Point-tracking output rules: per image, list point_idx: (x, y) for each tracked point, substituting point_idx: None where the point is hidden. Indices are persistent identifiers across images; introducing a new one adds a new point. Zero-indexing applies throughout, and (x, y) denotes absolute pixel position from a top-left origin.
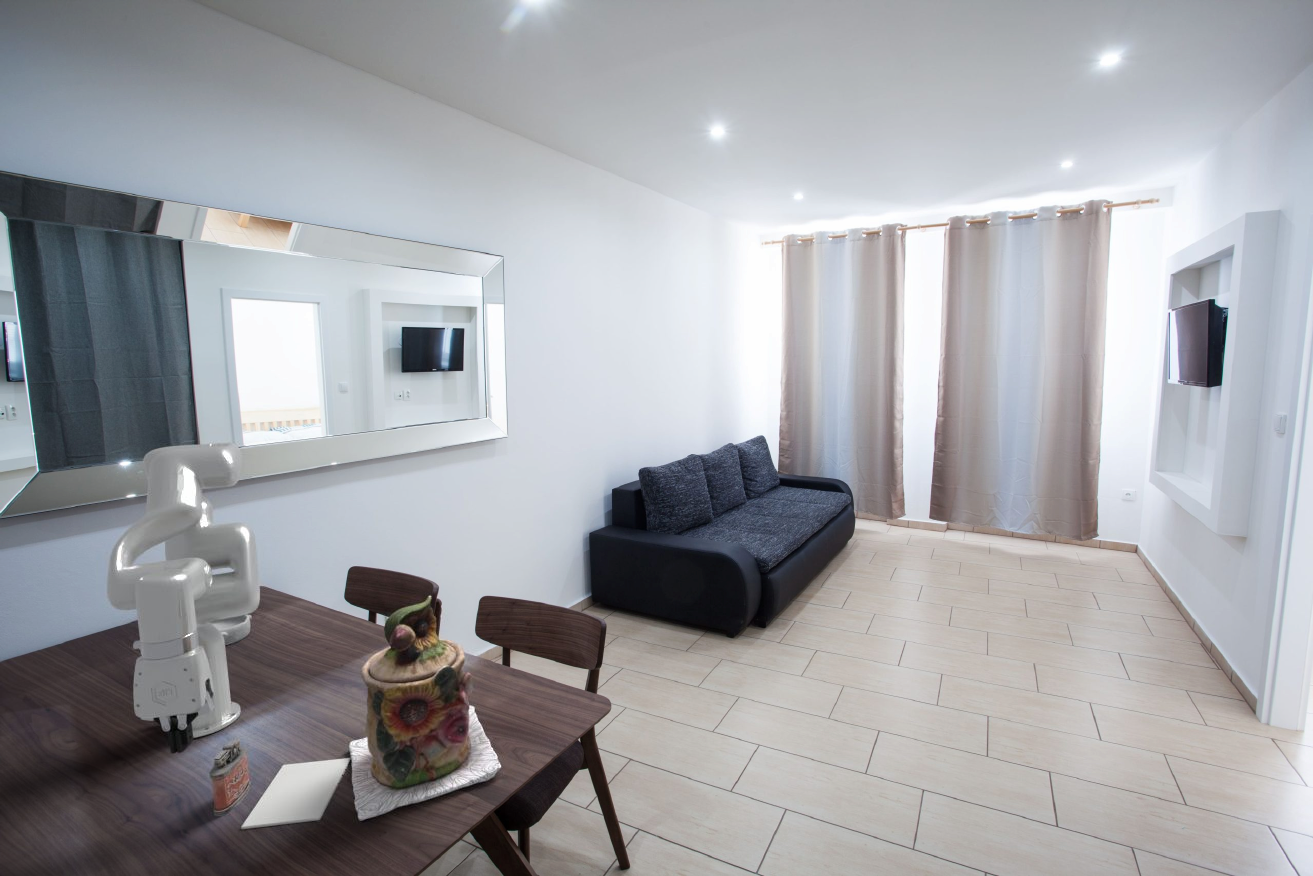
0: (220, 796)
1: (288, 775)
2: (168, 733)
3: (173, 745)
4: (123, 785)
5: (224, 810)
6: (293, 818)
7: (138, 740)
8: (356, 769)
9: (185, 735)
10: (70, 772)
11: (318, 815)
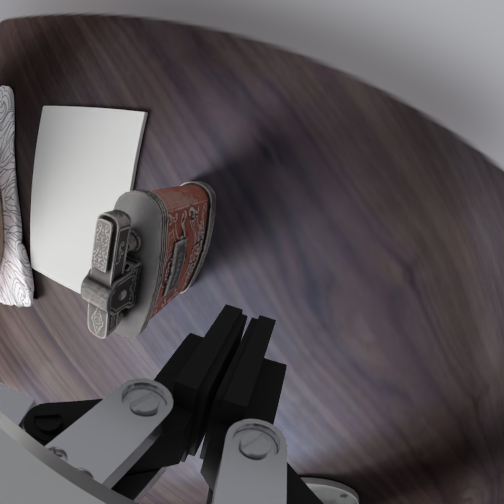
0: (173, 187)
1: None
2: (267, 416)
3: (250, 339)
4: (426, 400)
5: (186, 183)
6: (70, 113)
7: (398, 493)
8: (12, 216)
9: (175, 363)
10: (483, 450)
11: (44, 112)
